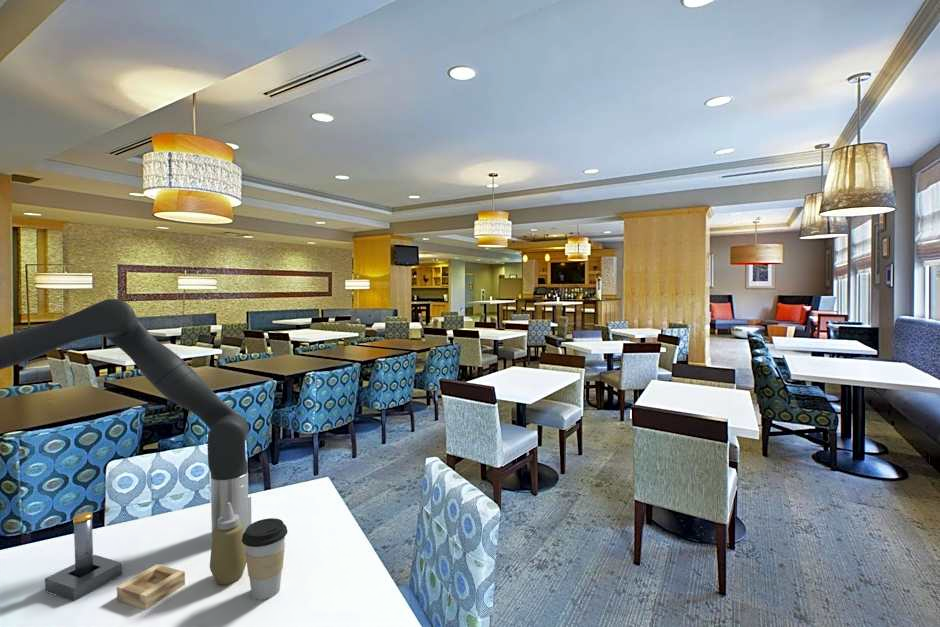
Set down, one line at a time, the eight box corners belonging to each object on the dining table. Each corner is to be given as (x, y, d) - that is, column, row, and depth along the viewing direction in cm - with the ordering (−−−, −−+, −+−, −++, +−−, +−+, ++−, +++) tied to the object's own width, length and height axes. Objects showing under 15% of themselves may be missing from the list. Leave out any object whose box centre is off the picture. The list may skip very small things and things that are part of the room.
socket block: (94, 566, 111) (94, 554, 111) (122, 574, 108) (121, 562, 108) (45, 591, 102) (44, 578, 102) (73, 601, 98) (73, 588, 98)
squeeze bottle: (255, 571, 110) (254, 498, 109) (228, 591, 102) (226, 514, 101) (230, 564, 112) (229, 493, 112) (201, 583, 105) (200, 508, 104)
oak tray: (157, 576, 107) (157, 563, 107) (184, 584, 104) (184, 571, 104) (117, 600, 99) (116, 586, 99) (145, 609, 96) (145, 596, 96)
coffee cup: (271, 608, 97) (270, 540, 96) (232, 602, 98) (231, 535, 98) (296, 580, 106) (295, 518, 105) (261, 575, 108) (260, 514, 107)
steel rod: (88, 577, 107) (86, 510, 106) (97, 580, 106) (95, 513, 105) (71, 585, 104) (69, 517, 103) (81, 588, 103) (79, 520, 102)
